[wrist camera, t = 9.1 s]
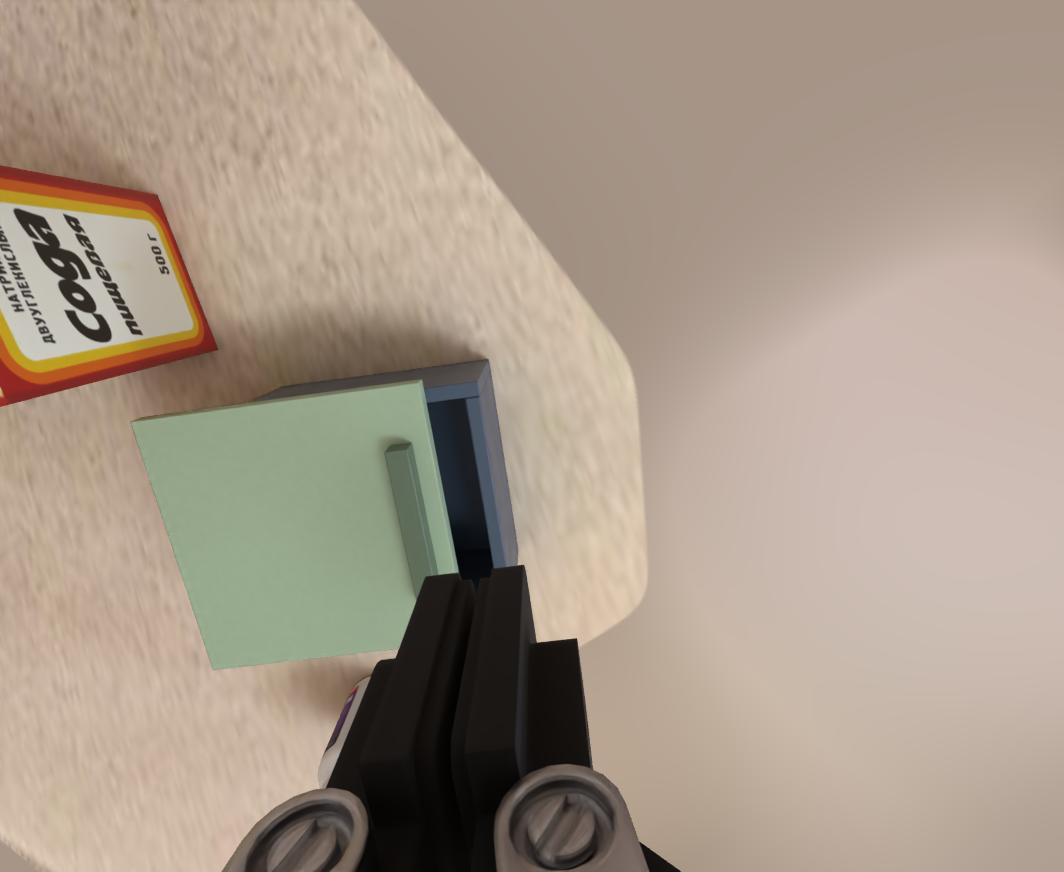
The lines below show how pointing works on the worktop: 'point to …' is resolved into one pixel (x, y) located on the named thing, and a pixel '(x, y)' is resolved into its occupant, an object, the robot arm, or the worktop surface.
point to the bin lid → (302, 519)
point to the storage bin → (457, 457)
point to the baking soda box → (88, 286)
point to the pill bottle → (340, 732)
